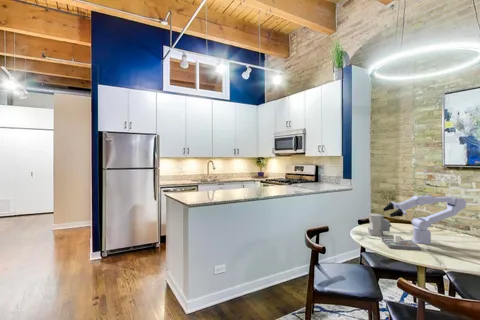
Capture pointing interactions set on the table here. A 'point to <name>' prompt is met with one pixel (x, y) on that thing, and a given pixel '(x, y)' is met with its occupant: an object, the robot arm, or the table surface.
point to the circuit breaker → (378, 225)
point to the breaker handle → (397, 238)
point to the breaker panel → (401, 244)
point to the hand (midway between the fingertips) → (387, 212)
